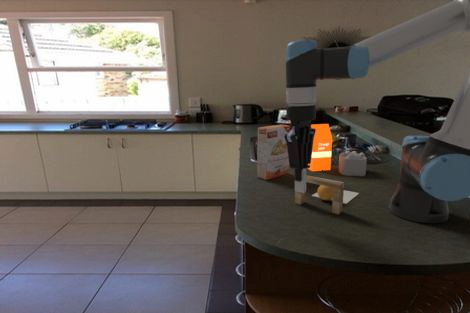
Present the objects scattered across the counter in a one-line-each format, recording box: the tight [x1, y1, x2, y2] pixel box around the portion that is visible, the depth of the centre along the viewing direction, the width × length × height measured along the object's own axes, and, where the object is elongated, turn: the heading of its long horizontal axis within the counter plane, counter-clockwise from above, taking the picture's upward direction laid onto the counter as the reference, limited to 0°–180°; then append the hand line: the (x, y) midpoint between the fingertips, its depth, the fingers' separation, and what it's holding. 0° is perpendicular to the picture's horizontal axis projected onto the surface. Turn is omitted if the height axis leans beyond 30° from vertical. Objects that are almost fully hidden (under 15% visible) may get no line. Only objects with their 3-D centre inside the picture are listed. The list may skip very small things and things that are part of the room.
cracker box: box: [256, 124, 290, 181], centre depth 130 cm, size 14×6×21 cm, turn 131°
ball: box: [317, 185, 333, 201], centre depth 104 cm, size 6×6×6 cm
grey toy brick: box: [338, 150, 368, 177], centre depth 135 cm, size 10×13×9 cm
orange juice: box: [307, 123, 333, 172], centre depth 140 cm, size 8×9×20 cm
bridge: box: [294, 174, 345, 215], centre depth 97 cm, size 3×14×9 cm, turn 50°
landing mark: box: [311, 189, 360, 205], centre depth 109 cm, size 12×12×1 cm
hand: (300, 191), depth 86 cm, fingers closed
